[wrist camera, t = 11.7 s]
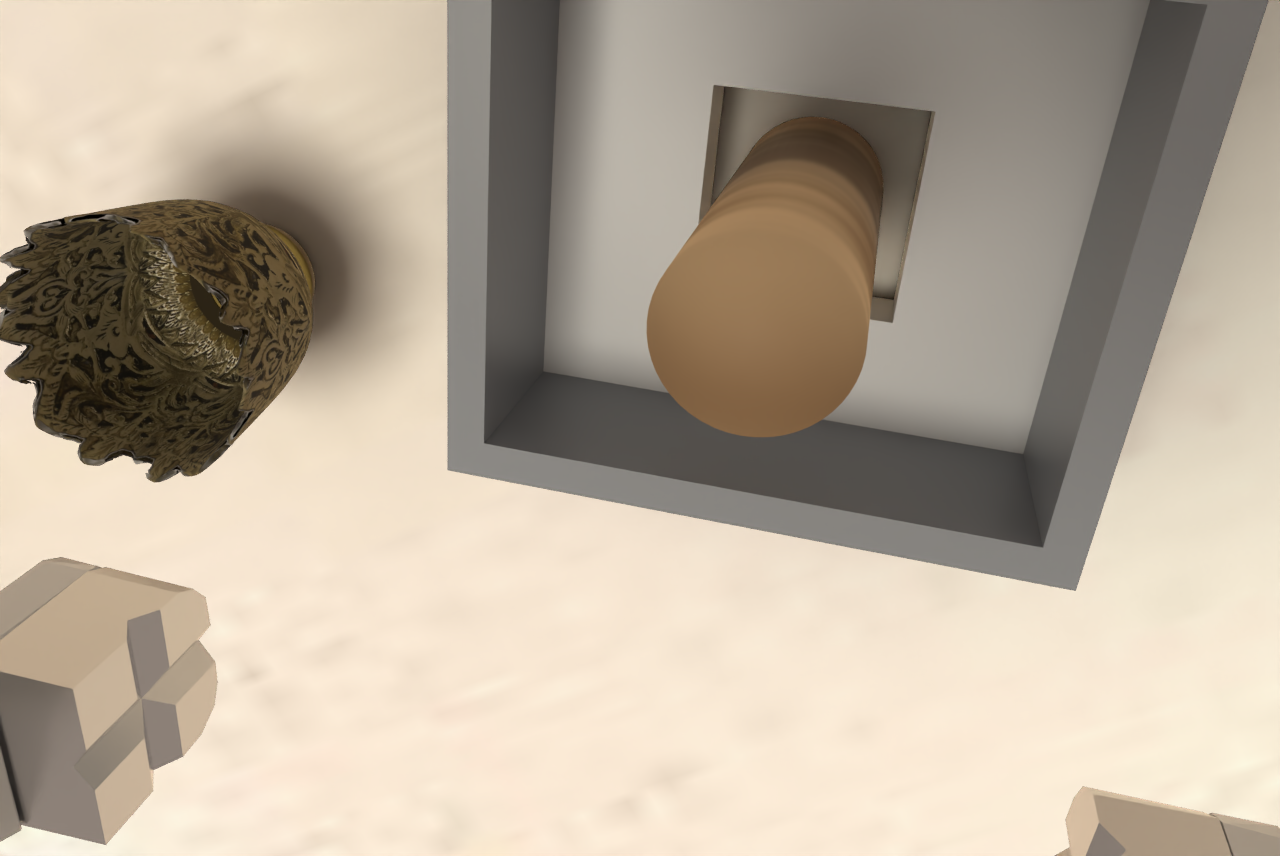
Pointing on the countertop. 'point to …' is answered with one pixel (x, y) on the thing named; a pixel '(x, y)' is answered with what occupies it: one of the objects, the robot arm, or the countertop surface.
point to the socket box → (898, 329)
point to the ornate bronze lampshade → (156, 328)
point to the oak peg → (774, 285)
